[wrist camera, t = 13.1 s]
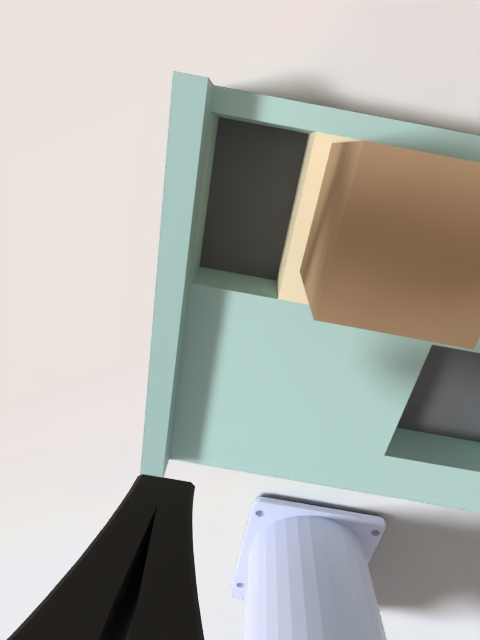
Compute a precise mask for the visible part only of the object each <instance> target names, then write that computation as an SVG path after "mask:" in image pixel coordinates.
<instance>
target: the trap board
mask: <svg viewBox="0 0 480 640" xmlns="http://www.w3.org/2000/svg"><path fill="white" fill-rule="evenodd" d="M353 141H368V142H373V143H378V144H383V145H389V146H394V147H399V148H404V149H409V150H415V151H420V152H425V153H430V154H435V155H440V156H446V157H451V158H456V159H461V160H466V161H471V162H477V163H480V136H478V135H473V134H468V133H463V132H457V131H452V130H447V129H442V128H436V127H431V126H426V125H420V124H415V123H410V122H405V121H399V120H394V119H389V118H383V117H378V116H373V115H368V114H362V113H357V112H352V111H347V110H341V109H336V108H331V107H325V106H320V105H315V104H310V103H304V102H299V101H294V100H288V99H283V98H278V97H273V96H267V95H262V94H257V93H251V92H246V91H241V90H236V89H230V88H225V87H220V86H215V85H214V84H213V83H212V82H211V81H210V79H209V78H207V77H202V76H197V75H192V74H186V73H181V72H176V71H173V80H172V92H171V105H170V117H169V129H168V141H167V154H166V166H165V178H164V191H163V203H162V215H161V227H160V240H159V252H158V264H157V276H156V289H155V301H154V313H153V325H152V338H151V350H150V362H149V374H148V387H147V399H146V411H145V423H144V436H143V448H142V460H141V472H140V475H142V474H145V475H151V476H157V477H164V474H165V471H166V467H167V464H168V461H169V459H172V460H178V461H184V462H189V463H195V464H201V465H207V466H213V467H219V468H224V469H230V470H236V471H242V472H248V473H253V474H259V475H265V476H271V477H277V478H283V479H288V480H294V481H300V482H306V483H312V484H318V485H323V486H329V487H335V488H341V489H347V490H352V491H358V492H364V493H370V494H376V495H382V496H387V497H393V498H399V499H405V500H411V501H417V502H422V503H428V504H434V505H440V506H446V507H451V508H457V509H463V510H469V511H475V512H480V338H479V340H478V342H477V344H476V346H475V348H474V349H468V348H463V347H457V346H452V345H447V344H441V343H436V342H430V341H425V340H419V339H414V338H408V337H403V336H397V335H392V334H387V333H381V332H376V331H370V330H365V329H359V328H354V327H348V326H343V325H338V324H332V323H327V322H321V321H316V320H313V316H312V313H311V309H310V306H309V302H308V299H307V295H306V292H305V288H304V285H303V281H302V278H301V274H300V268H301V264H302V260H303V256H304V252H305V248H306V244H307V240H308V236H309V232H310V228H311V224H312V220H313V216H314V212H315V208H316V204H317V200H318V196H319V192H320V188H321V184H322V180H323V176H324V172H325V168H326V164H327V160H328V156H329V152H330V148H331V144H332V143H339V142H353Z"/></svg>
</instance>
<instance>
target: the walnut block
mask: <svg viewBox="0 0 480 640" xmlns="http://www.w3.org/2000/svg"><path fill="white" fill-rule="evenodd" d="M300 274H301V278H302V281H303V285H304V288H305V292H306V295H307V299H308V302H309V306H310V309H311V313H312V316H313V320H316V321H321V322H327V323H332V324H338V325H343V326H348V327H354V328H359V329H365V330H370V331H376V332H381V333H387V334H392V335H397V336H403V337H408V338H414V339H419V340H425V341H430V342H436V343H441V344H447V345H452V346H457V347H463V348H468V349H474V348H475V346H476V344H477V342H478V340H479V338H480V163H477V162H471V161H466V160H461V159H456V158H451V157H446V156H440V155H435V154H430V153H425V152H420V151H415V150H409V149H404V148H399V147H394V146H389V145H383V144H378V143H373V142H368V141H353V142H339V143H332V144H331V148H330V152H329V156H328V160H327V164H326V168H325V172H324V176H323V180H322V184H321V188H320V192H319V196H318V200H317V204H316V208H315V212H314V216H313V220H312V224H311V228H310V232H309V236H308V240H307V244H306V248H305V252H304V256H303V260H302V264H301V268H300Z"/></svg>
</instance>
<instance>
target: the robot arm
mask: <svg viewBox="0 0 480 640" xmlns="http://www.w3.org/2000/svg"><path fill="white" fill-rule="evenodd" d="M194 490H195V486H194V485H193V484H192V483H191V482H186V481H180V480H174V479H169V478H163V477H157V476H151V475H145V474H142V475H140V476H138V477H137V479H136V480H135V482H134V484H133V486H132V487H131V489H130V490H129V492H128V493H127V495H126V497H125V498H124V500H123V501H122V503H121V504H120V505H119V507H118V508H117V510H116V511H115V512H114V514H113V515H112V517H111V518H110V519H109V521H108V522H107V524H106V525H105V526H104V528H103V529H102V530H101V531H100V533H99V534H98V535H97V537H96V538H95V539H94V540H93V542H92V543H91V544H90V546H89V547H88V548H87V549H86V551H85V552H84V553H83V555H82V556H81V557H80V558H79V559H78V561H77V562H76V563H75V564H74V565H73V567H72V568H71V569H70V570H69V571H68V572H67V574H66V575H65V576H64V577H63V578H62V579H61V581H60V582H59V583H58V584H57V585H56V586H55V588H54V589H53V590H52V591H51V592H50V593H49V595H48V596H47V597H46V598H45V599H44V600H43V601H42V603H41V604H40V605H39V606H38V607H37V608H36V609H35V610H34V611H33V612H32V614H31V615H30V616H29V617H28V618H27V619H26V620H25V621H24V622H23V623H22V624H21V625H20V626H19V628H18V629H17V630H16V631H15V632H14V633H13V634H12V635H11V636H10V637H9V638H8V639H7V640H204V635H203V629H202V622H201V615H200V609H199V602H198V594H197V585H196V575H195V564H194V553H193V534H192V509H193V496H194ZM260 510H261V511H260ZM385 529H386V523H385V520H384V519H383V518H382V517H379V516H373V515H367V514H361V513H355V512H349V511H344V510H338V509H332V508H326V507H320V506H314V505H308V504H303V503H297V502H291V501H285V500H279V499H273V498H267V497H257V498H256V499H255V500H254V501H253V505H252V509H251V513H250V517H249V520H248V524H247V528H246V532H245V536H244V540H243V543H242V547H241V551H240V555H239V559H238V563H237V567H236V570H235V574H234V578H233V582H232V586H231V595H232V596H233V597H235V598H239V599H245V609H244V632H243V640H387V639H386V635H385V631H384V627H383V623H382V619H381V615H380V611H379V607H378V603H377V599H376V595H375V591H374V587H373V583H372V579H371V575H370V571H369V567H368V564H369V562H370V560H371V558H372V556H373V554H374V552H375V550H376V548H377V546H378V544H379V542H380V540H381V537H382V535H383V533H384V531H385Z"/></svg>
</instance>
